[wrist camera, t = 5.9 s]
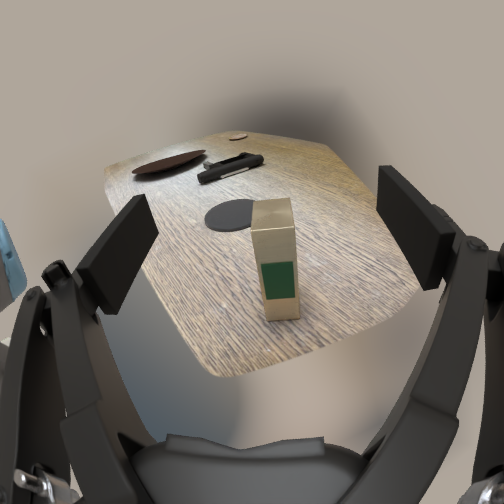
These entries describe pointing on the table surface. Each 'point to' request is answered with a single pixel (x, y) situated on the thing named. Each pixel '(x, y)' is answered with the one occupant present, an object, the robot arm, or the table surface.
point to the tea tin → (276, 257)
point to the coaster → (230, 215)
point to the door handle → (229, 166)
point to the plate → (168, 163)
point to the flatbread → (238, 136)
